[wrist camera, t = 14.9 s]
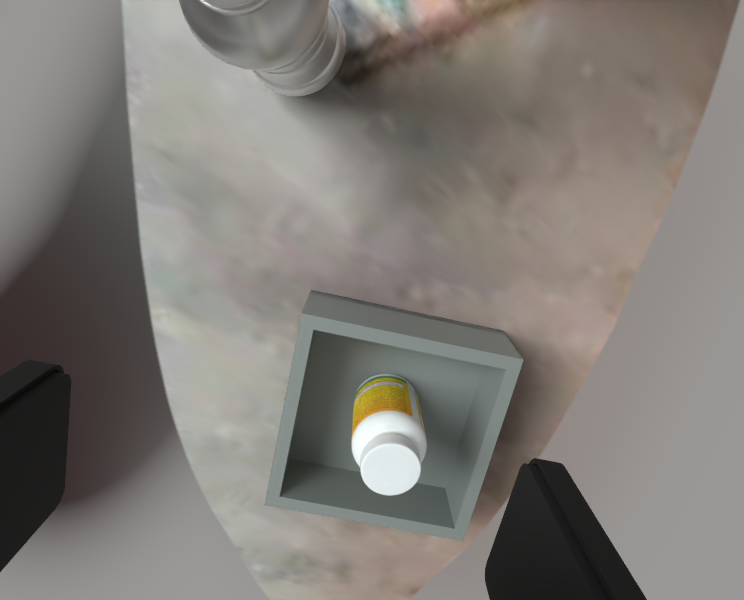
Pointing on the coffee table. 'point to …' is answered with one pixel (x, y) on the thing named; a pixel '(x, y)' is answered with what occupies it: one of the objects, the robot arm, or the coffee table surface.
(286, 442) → the tote
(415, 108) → the coffee table surface
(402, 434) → the supplement bottle
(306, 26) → the plastic bottle
